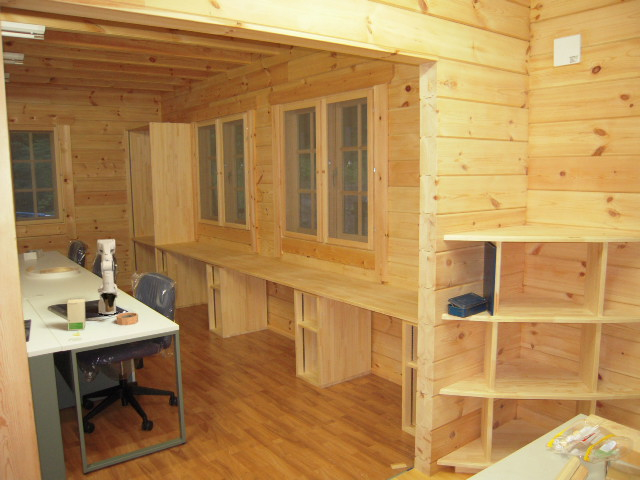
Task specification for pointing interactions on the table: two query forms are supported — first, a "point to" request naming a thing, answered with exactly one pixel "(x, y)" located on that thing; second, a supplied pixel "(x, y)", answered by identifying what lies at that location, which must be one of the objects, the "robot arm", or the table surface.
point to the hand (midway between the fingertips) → (109, 306)
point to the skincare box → (76, 314)
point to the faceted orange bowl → (127, 318)
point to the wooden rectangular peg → (107, 308)
